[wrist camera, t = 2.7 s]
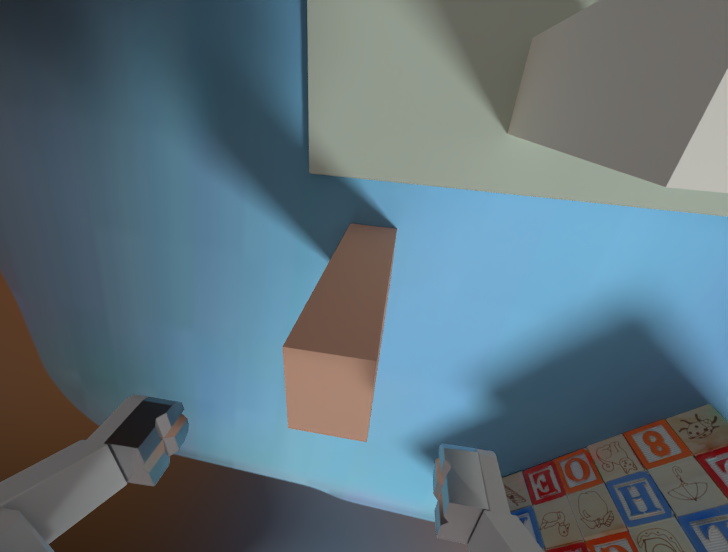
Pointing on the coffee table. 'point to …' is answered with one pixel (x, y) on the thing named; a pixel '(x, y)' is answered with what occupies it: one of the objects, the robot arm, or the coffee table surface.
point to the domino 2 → (634, 90)
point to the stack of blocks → (633, 490)
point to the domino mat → (449, 102)
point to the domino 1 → (341, 338)
